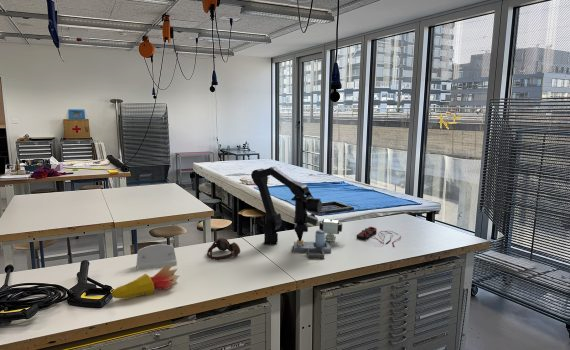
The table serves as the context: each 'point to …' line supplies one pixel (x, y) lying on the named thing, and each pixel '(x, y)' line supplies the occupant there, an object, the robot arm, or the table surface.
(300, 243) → the plunger
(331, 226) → the pneumatic valve
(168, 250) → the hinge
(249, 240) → the table surface
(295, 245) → the housing
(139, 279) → the torch
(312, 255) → the tray
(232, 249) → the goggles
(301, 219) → the robot arm
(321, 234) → the cartridge
